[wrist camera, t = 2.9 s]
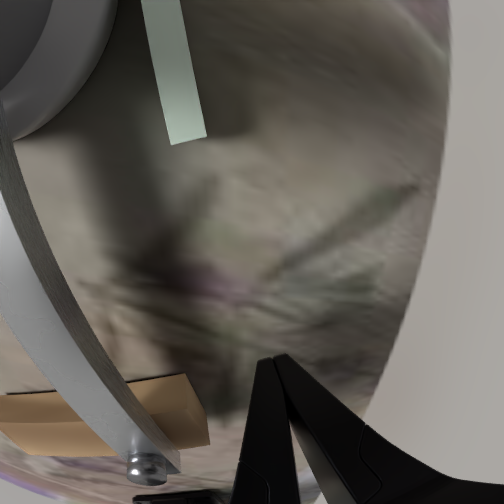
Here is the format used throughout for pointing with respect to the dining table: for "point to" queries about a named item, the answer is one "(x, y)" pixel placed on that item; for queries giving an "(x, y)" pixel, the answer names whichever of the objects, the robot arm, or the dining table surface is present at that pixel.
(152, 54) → the pale green u-shaped bracket
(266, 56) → the dining table surface
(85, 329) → the lever
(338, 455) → the robot arm
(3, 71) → the plug
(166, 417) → the latch rail
